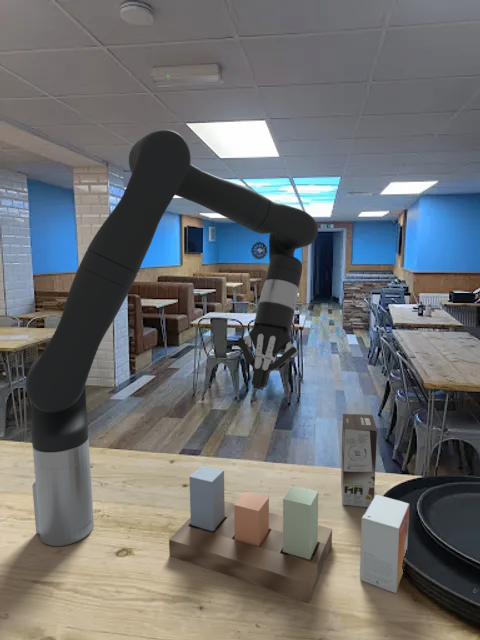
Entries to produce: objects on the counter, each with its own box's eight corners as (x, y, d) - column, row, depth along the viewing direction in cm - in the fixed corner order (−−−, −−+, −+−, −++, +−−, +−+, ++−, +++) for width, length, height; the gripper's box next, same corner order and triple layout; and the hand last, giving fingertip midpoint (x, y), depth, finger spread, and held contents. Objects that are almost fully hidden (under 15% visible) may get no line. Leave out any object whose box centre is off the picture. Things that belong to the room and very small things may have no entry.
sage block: (282, 551, 69) (283, 498, 68) (291, 535, 73) (292, 485, 72) (309, 559, 68) (310, 505, 66) (317, 542, 71) (318, 491, 70)
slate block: (190, 524, 76) (189, 476, 75) (203, 511, 80) (202, 465, 79) (212, 531, 75) (212, 481, 73) (224, 517, 79) (223, 470, 77)
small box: (396, 595, 64) (399, 529, 63) (358, 580, 67) (360, 517, 66) (407, 563, 71) (410, 502, 70) (373, 551, 74) (375, 493, 72)
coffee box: (375, 508, 86) (378, 430, 84) (341, 505, 88) (343, 428, 85) (370, 485, 95) (373, 414, 93) (340, 482, 96) (342, 412, 94)
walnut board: (169, 555, 73) (169, 539, 73) (210, 511, 86) (209, 497, 85) (308, 602, 63) (309, 583, 63) (331, 544, 76) (332, 528, 75)
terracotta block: (234, 554, 73) (234, 504, 72) (245, 539, 77) (245, 491, 76) (259, 562, 72) (258, 511, 70) (268, 545, 75) (268, 497, 74)
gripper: (241, 296, 89) (221, 380, 85) (304, 304, 84) (285, 394, 80) (252, 306, 95) (234, 384, 92) (311, 315, 90) (294, 398, 87)
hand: (258, 389), depth 86 cm, fingers closed
